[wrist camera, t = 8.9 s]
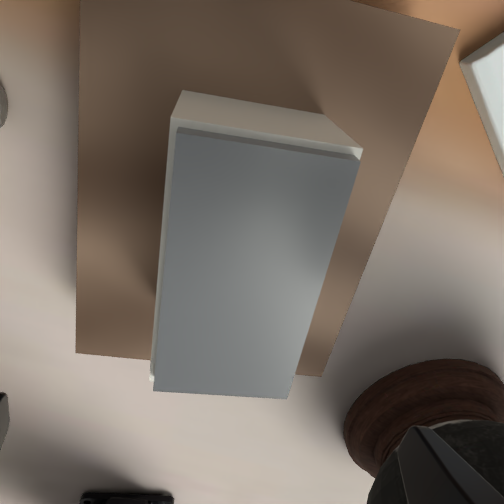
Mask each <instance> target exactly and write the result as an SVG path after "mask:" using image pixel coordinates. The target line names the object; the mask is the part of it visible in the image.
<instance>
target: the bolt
mask: <svg viewBox="0 0 504 504" xmlns="http://www.w3.org/2000/svg"><path fill="white" fill-rule="evenodd" d="M7 112H8V101H7V95H6V92H5V90H4V88H3V87H2V86H0V128H1V127H2V126H3V125H4V123H5V121H6V118H7Z"/></svg>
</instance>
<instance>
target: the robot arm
mask: <svg viewBox="0 0 504 504" xmlns="http://www.w3.org/2000/svg"><path fill="white" fill-rule="evenodd" d="M9 422H10V417H9V406H8V397H7V394H6V393H4V392H0V450H1V447H2V444H3V442H4V439H5V436H6V434H7V431H8V427H9ZM398 460H399V465H400V469H401V474H402V479H403V483H404V488H405V492H406V497H407V501H408V504H504V497H503V496H502V495H501V494H500V493H499V492H498V491H496V490H495V489H494V488H493V487H492V486H491V485H490V484H489V483H488V482H487V481H486V480H485V479H484V478H483V477H482V476H481V475H480V474H478V473H477V472H476V471H475V470H474V469H473V468H472V467H471V466H470V465H469V464H468V463H467V462H466V461H465V460H464V459H463V458H461V457H460V456H459V455H458V454H457V453H456V452H455V451H454V450H453V449H452V448H451V447H450V446H449V445H448V444H447V443H446V442H445V441H443V440H442V439H441V438H440V437H439V436H438V435H437V434H436V433H435V432H434V431H433V430H432V429H430V428H429V427H426V426H415V425H414V426H411V427H410V428H409V429H408V431H407V433H406V434H405V436H404V438H403V440H402V441H401V443H400V445H399V447H398ZM80 504H174V498H173V497H171V496H158V495H134V494H110V493H84V494H82V496H81V499H80Z"/></svg>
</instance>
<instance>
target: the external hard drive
mask: <svg viewBox="0 0 504 504" xmlns="http://www.w3.org/2000/svg"><path fill="white" fill-rule="evenodd" d="M459 65H460V68H461V70H462V72H463V75H464V77H465V80H466V82H467V85H468V88H469V90H470V93H471V95H472V98H473V101H474V103H475V105H476V108H477V110H478V113H479V115H480V118H481V120H482V123H483V125H484V128H485V130H486V133H487V136H488V138H489V141H490V143H491V146H492V149H493V151H494V153H495V156H496V159H497V161H498V164H499V166H500V169H501V171H502V174H503V177H504V32H502V33H501V34H499V35H498V36H497V37H495V38H494V39H492V40H491V41H489V42H488V43H486V44H485V45H483V46H482V47H480V48H479V49H477V50H476V51H475V52H473V53H472V54H470V55H469V56H467V57H466V58H464V59H463V60H461V61H460V62H459Z"/></svg>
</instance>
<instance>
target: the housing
mask: <svg viewBox="0 0 504 504" xmlns="http://www.w3.org/2000/svg"><path fill="white" fill-rule="evenodd" d="M362 151H363V148H362V147H361V146H360V145H359V144H357V143H356V142H355V141H354V140H353V139H352V138H351V137H349V136H348V135H347V134H346V133H345V132H344V131H342V130H341V129H340V128H339V127H338V126H337V125H336V124H334V123H333V122H332V121H331V120H330V119H329V118H328V117H326V116H325V115H323V114H318V113H312V112H306V111H300V110H295V109H289V108H283V107H278V106H272V105H266V104H260V103H255V102H249V101H243V100H237V99H232V98H226V97H220V96H215V95H209V94H203V93H197V92H192V91H186V90H182V92H181V94H180V97H179V99H178V101H177V104H176V106H175V108H174V110H173V113H172V115H171V118H170V130H169V143H168V155H167V167H166V180H165V192H164V204H163V216H162V229H161V241H160V253H159V266H158V278H157V290H156V302H155V315H154V327H153V339H152V352H151V364H150V376H149V381H153V382H154V387H153V391H160V392H176V393H192V394H209V395H225V396H242V397H258V398H274V399H287V397H288V394H289V391H290V388H291V385H292V381H293V378H294V375H295V372H296V369H297V365H298V362H299V359H300V356H301V353H302V349H303V346H304V343H305V340H306V336H307V333H308V330H309V327H310V324H311V320H312V317H313V314H314V311H315V308H316V304H317V301H318V298H319V295H320V292H321V288H322V285H323V282H324V279H325V275H326V272H327V269H328V266H329V263H330V259H331V256H332V253H333V250H334V247H335V243H336V240H337V237H338V234H339V231H340V227H341V224H342V221H343V218H344V214H345V211H346V208H347V205H348V202H349V198H350V195H351V192H352V189H353V186H354V182H355V179H356V176H357V173H358V170H359V166H360V163H361V161H360V158H361V154H362Z"/></svg>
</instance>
